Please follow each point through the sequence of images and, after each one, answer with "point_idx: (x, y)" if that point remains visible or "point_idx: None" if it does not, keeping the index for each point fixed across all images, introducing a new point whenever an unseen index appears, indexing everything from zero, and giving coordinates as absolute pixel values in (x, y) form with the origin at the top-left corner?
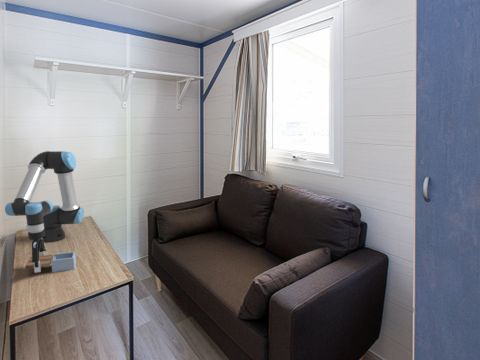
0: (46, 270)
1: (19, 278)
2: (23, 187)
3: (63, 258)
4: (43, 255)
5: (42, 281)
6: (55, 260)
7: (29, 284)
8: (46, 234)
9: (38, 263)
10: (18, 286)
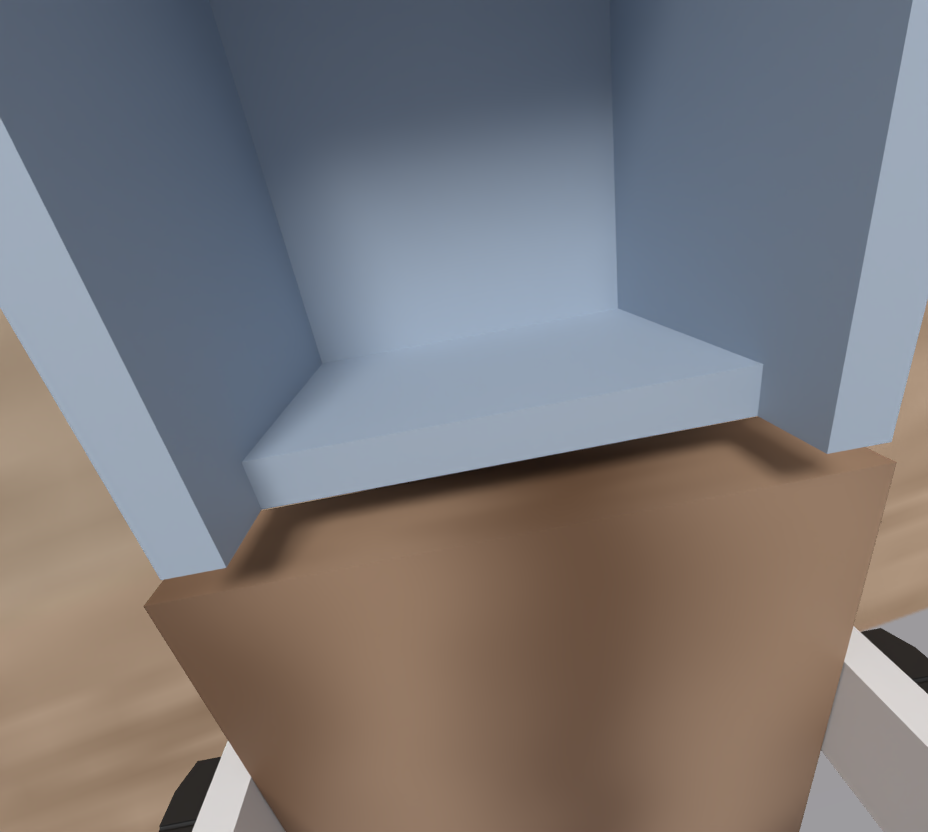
0: None
1: None
2: None
3: (198, 166)
4: (256, 800)
5: (917, 371)
6: (913, 261)
7: (910, 513)
8: None
9: (924, 718)
10: (891, 607)
